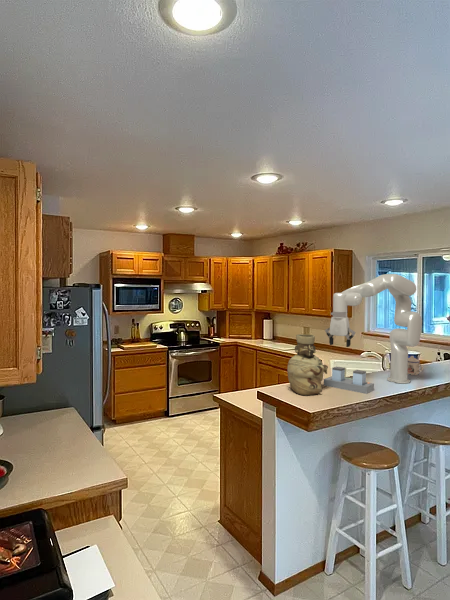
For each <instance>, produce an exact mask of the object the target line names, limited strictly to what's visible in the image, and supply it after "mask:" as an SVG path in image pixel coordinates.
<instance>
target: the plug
mask: <svg viewBox="0 0 450 600" xmlns="http://www.w3.org/2000/svg"><path fill="white" fill-rule="evenodd" d="M331 369H332V370H331V376H332V380H336V381H343V380H344V378H345V377H346V376H345V374H346V370H345V369H346V368H345V367H342V366H333V367H332V368H331Z"/></svg>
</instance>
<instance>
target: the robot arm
mask: <svg viewBox="0 0 450 600" xmlns="http://www.w3.org/2000/svg"><path fill="white" fill-rule="evenodd" d="M385 290H388V292H389V293H390V294H391V295H392V297H393V298H394V300H395V307H394V308H395V309H394V317H393V321H394V324H395V325H396V326H399V327H403V328H393V329H392V330H391V331H390V332H389V343H390V365H389V366H390V370H389V371H390V372H389V376H388V377H386V378H387V379H386V381H388V382H391V383H394V384H410V382H411V380H410V379H409V378H408V374H407V373H408V358H409V350H408V347H412V348H413V347H417V346H418V344H419V343H420V341H421V334H422V325H423V320H422V319H423V318H422V316H421V314H420V313H419V312H416V311H413V310H412V299H411V296H412V295H415V293H416V291H417V286H416V284H415V282H414V281H412V280H410V279H408V278H406V277H404V276H402V275H399V274H398V273H386V274H381V275H379V276H377V277H374V278H373V279H371V280H369V281H366V282H364V283H361V284H359V285H355V286H352V287H350V288H347V289H345V290H343V291H342V292H335V293H333V296H332V312H330V315H331V319H330V325H329V327H328V328H326V329H324V331H325V334H326V336H327V337H328V341H329V345H330V346H333V345H334V336H335V337H345V338H346V344H345V345H346V346H345V347H347V348H349V347H350V346H351V342H352V338H353V337H354V336H355V335H356V331H355V330H353V329H351V328H350V320H349V319H350V318H349V317H348V306H349V307H353V306H354V307H357V306H359V305H360V304H362V301H363V298H370V297H374V296H376V295H378V294H381V292H383V291H385ZM406 328H407V329H406ZM350 333H351V334H350ZM353 339H354V338H353Z"/></svg>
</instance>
